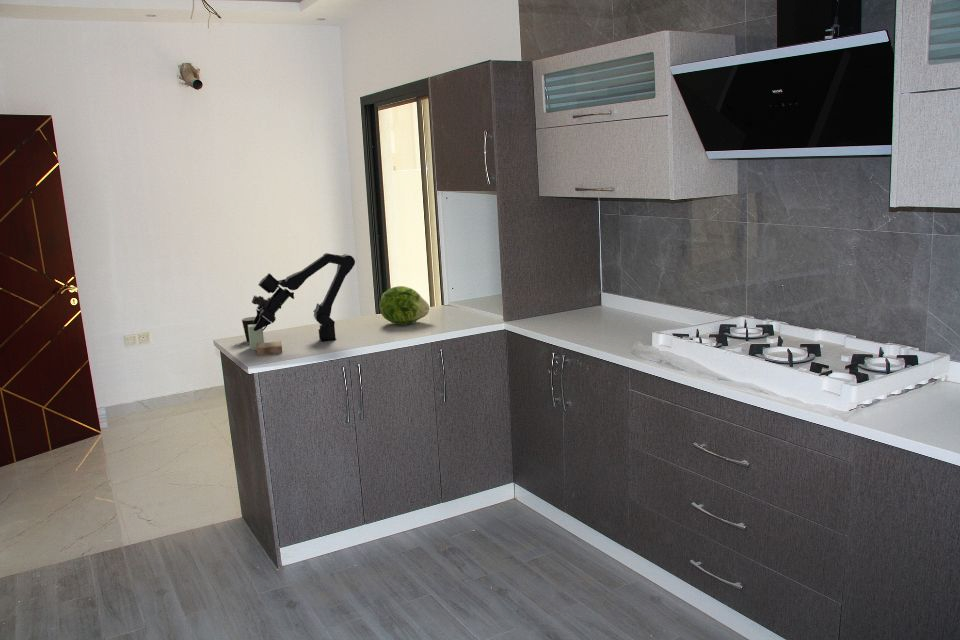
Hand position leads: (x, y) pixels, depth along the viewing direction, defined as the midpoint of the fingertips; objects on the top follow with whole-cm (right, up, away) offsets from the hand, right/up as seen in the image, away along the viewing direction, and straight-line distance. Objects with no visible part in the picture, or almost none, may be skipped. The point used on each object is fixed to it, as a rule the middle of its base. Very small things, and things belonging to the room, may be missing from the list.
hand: (253, 328), depth 337 cm
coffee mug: (-3, -6, +18) cm, 19 cm away
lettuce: (+61, +2, +39) cm, 73 cm away
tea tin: (+1, -8, +2) cm, 9 cm away
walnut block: (+9, -10, -6) cm, 15 cm away
